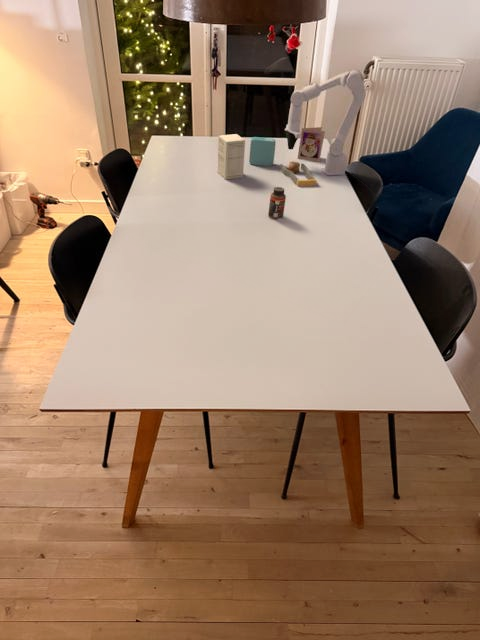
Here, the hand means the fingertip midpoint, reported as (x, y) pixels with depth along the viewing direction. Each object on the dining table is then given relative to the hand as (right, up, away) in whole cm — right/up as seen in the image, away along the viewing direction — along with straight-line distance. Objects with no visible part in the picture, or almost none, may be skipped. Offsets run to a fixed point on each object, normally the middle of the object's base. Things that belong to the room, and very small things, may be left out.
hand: (290, 148), depth 212 cm
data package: (-14, -6, +5) cm, 16 cm away
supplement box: (-29, -16, -9) cm, 34 cm away
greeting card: (+12, +1, +16) cm, 20 cm away
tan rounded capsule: (+1, -11, 0) cm, 11 cm away
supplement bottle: (-10, -42, -39) cm, 59 cm away
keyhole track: (+3, -16, -5) cm, 17 cm away
